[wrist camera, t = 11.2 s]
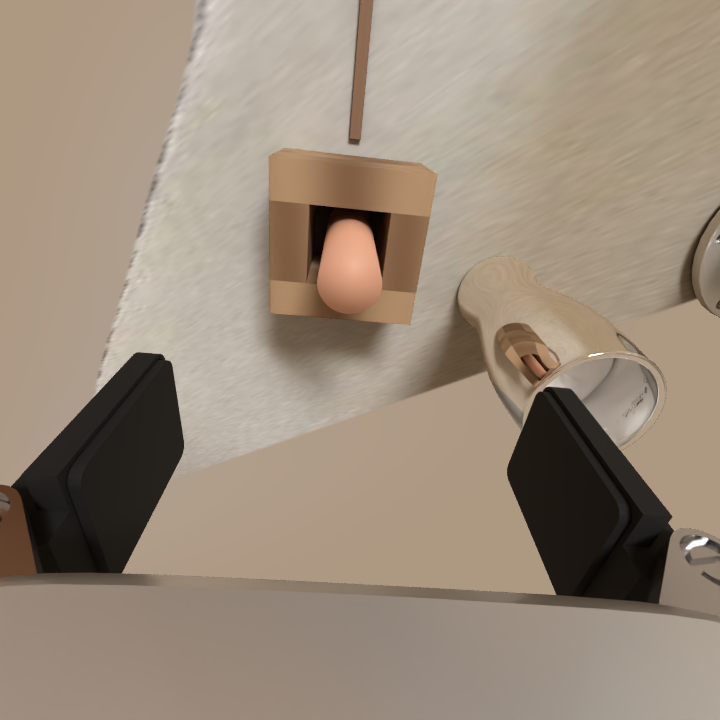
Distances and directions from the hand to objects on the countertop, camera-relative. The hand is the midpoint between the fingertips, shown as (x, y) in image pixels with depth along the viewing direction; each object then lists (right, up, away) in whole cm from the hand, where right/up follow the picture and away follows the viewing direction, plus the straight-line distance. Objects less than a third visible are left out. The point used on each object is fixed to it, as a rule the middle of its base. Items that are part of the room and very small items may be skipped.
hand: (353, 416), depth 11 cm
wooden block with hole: (-1, +11, +19) cm, 22 cm away
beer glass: (+11, +7, +22) cm, 25 cm away
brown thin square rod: (0, +20, +13) cm, 24 cm away
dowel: (-1, +11, +19) cm, 22 cm away
